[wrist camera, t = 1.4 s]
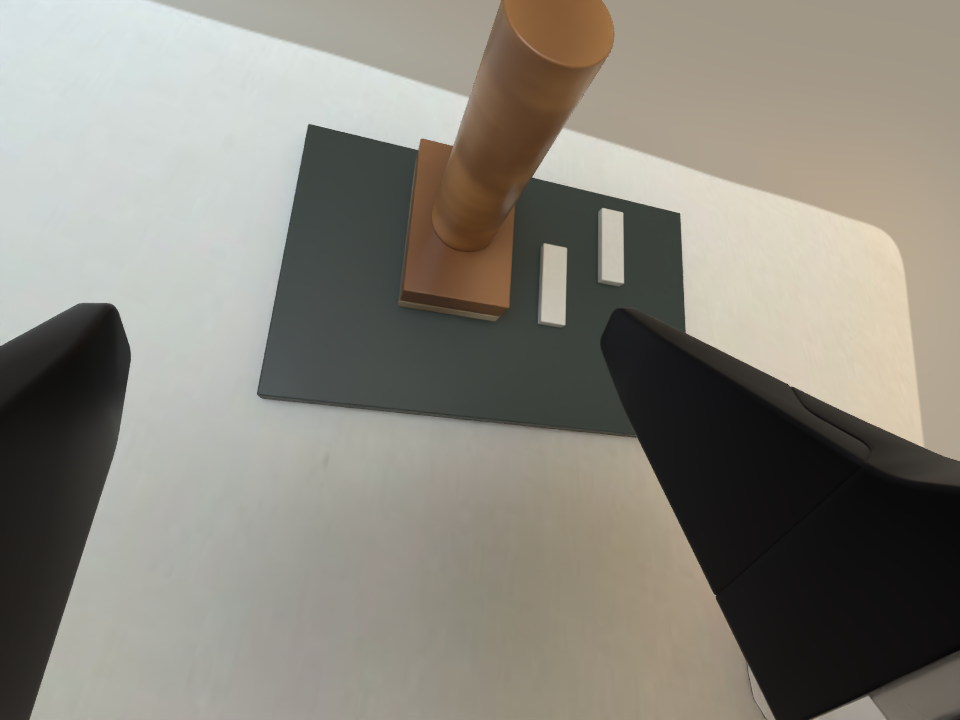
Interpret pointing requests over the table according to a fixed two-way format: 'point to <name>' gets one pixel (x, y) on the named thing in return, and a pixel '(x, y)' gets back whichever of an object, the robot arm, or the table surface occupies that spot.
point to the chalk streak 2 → (610, 247)
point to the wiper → (497, 154)
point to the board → (444, 337)
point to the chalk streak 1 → (552, 285)
